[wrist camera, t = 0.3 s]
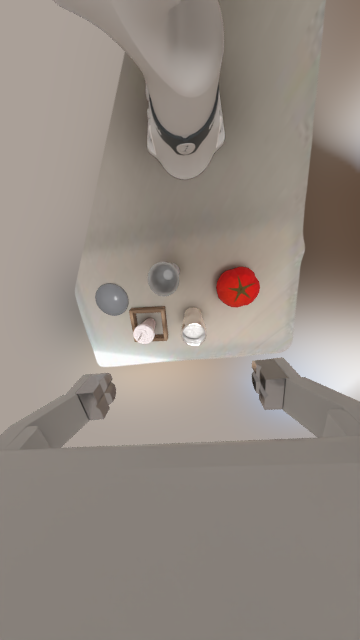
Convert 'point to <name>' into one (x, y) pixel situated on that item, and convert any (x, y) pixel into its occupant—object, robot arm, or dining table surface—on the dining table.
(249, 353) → the dining table surface
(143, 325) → the smoothie
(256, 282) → the tomato
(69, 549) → the robot arm
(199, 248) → the dining table surface
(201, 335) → the beer glass
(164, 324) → the wooden serving tray
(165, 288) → the chalice
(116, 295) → the disc
